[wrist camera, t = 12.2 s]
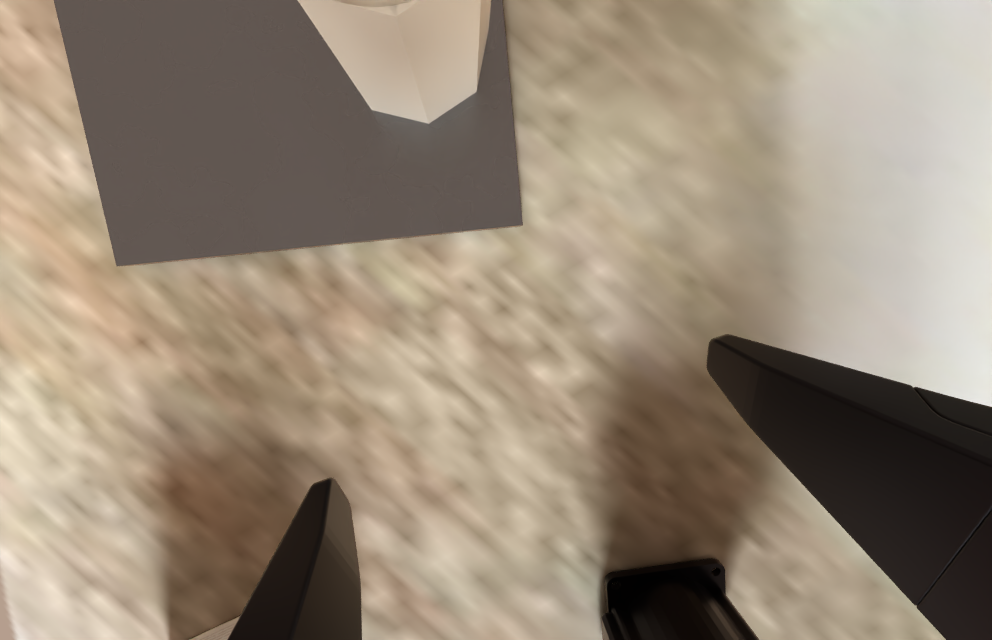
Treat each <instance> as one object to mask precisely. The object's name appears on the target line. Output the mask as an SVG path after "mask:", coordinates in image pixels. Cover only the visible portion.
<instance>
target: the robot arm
mask: <svg viewBox="0 0 992 640" xmlns="http://www.w3.org/2000/svg"><path fill="white" fill-rule="evenodd" d="M707 370H708V372H709V374H710V376H711V377H712V378H713V380H714V381H715V382H716V384H717V385H718V386H719V388H720V389H721V390H722V392H723V393H724V394H725V396H726V397H727V398H728V400H729V401H730V402H731V404H732V405H733V406H734V408H735V409H736V410H737V412H738V413H739V414H740V415H741V417H742V418H743V419H744V421H745V422H746V423H747V424H748V425H749V427H750V428H751V429H752V430H753V431H754V432H755V433H756V435H757V436H758V437H759V438H760V439H761V440H762V441H763V442H764V443H765V444H766V445H767V446H768V447H769V449H770V450H771V451H772V452H773V453H774V454H775V455H776V456H777V457H778V458H779V459H780V460H781V461H782V463H783V464H784V465H785V466H786V467H787V468H788V469H789V470H790V471H791V472H792V473H793V474H794V476H795V477H796V478H797V479H798V480H799V481H800V482H801V483H802V484H803V485H804V486H805V487H806V488H807V490H808V491H809V492H810V493H811V494H812V495H813V496H814V497H815V498H816V499H817V500H818V501H819V502H820V504H821V505H822V506H823V507H824V508H825V509H826V510H827V511H828V512H829V513H830V514H831V515H832V516H833V518H834V519H835V520H836V521H837V522H838V523H839V524H840V525H841V526H842V527H843V528H844V529H845V531H846V532H847V533H848V534H849V535H850V536H851V537H852V538H853V539H854V540H855V541H856V542H857V543H858V545H859V546H860V547H861V548H862V549H863V550H864V551H865V552H866V553H867V554H868V555H869V556H870V557H871V559H872V560H873V561H874V562H875V563H876V564H877V565H878V566H879V567H880V568H881V569H882V570H883V572H884V573H885V574H886V575H887V576H888V577H889V578H890V579H891V580H892V581H893V582H894V583H895V584H896V586H897V587H898V588H899V589H900V590H901V591H902V592H903V593H904V594H905V595H906V596H907V597H908V598H909V600H910V601H911V602H912V603H913V604H914V605H917V609H918V610H919V611H920V612H921V613H922V614H923V615H924V616H925V617H926V618H927V619H928V620H929V622H930V623H931V624H932V625H933V626H934V627H935V628H936V629H937V630H938V631H939V632H940V633H941V634H942V636H943V637H944V638H945V639H946V640H992V407H990V406H986V405H981V404H977V403H973V402H970V401H966V400H962V399H958V398H955V397H951V396H947V395H943V394H940V393H936V392H933V391H929V390H925V389H922V388H918V387H914V388H913V387H912V386H911V385H907V384H904V383H900V382H897V381H893V380H890V379H886V378H883V377H879V376H875V375H872V374H868V373H865V372H861V371H858V370H854V369H851V368H847V367H844V366H840V365H836V364H833V363H829V362H826V361H822V360H819V359H815V358H812V357H808V356H804V355H801V354H797V353H794V352H790V351H787V350H783V349H780V348H776V347H772V346H769V345H765V344H762V343H758V342H755V341H751V340H748V339H744V338H741V337H737V336H733V335H729V334H725V335H721V336H719V337H716V338H713V339H712V340H711V341H710V342H709V347H708V356H707ZM713 568H716V569H715V570H713V571H712V569H713ZM604 582H605V596H606V610H607V613H604V614H603V616H602V617H601V622H602V636H603V640H759V639H758V637H757V636H756V635H755V633H754V632H753V631H752V629H751V628H750V627H749V625H748V624H747V623H746V621H745V620H744V619H743V617H742V616H741V615H740V613H739V612H738V611H737V609H736V608H735V607H734V605H733V604H732V603H731V601H730V600H729V599H728V597H727V596H726V594H725V569H724V567H723V565H722V564H721V563H720V562H719V560H717V559H715V558H711V559H703V560H696V561H689V562H682V563H675V564H667V565H660V566H653V567H646V568H639V569H631V570H624V571H617V572H612V573H609V574H608V575H607V576H606V577H605V581H604ZM613 582H617V583H616V584H612V583H613ZM227 640H362V620H361V583H360V573H359V565H358V557H357V550H356V542H355V535H354V527H353V520H352V513H351V507H350V503H349V501H348V499H347V497H346V496H345V494H344V493H343V491H342V489H341V488H340V486H339V485H338V483H337V482H336V480H335V479H334V478H327V479H324V480H322V481H319V482H316V483H314V484H313V485H312V486H311V487H310V489H309V491H308V493H307V495H306V496H305V498H304V500H303V502H302V504H301V506H300V507H299V509H298V511H297V513H296V515H295V517H294V518H293V520H292V522H291V524H290V526H289V527H288V529H287V531H286V533H285V535H284V537H283V538H282V540H281V542H280V544H279V546H278V548H277V549H276V551H275V553H274V555H273V557H272V559H271V560H270V562H269V564H268V566H267V568H266V570H265V571H264V573H263V575H262V577H261V579H260V581H259V582H258V584H257V586H256V588H255V590H254V592H253V593H252V595H251V597H250V599H249V601H248V603H247V604H246V606H245V608H244V610H243V612H242V614H241V615H240V617H239V619H238V621H237V623H236V625H235V626H234V628H233V630H232V632H231V634H230V635H229V637H228V639H227Z"/></svg>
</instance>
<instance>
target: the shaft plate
mask: <svg viewBox="0 0 992 640" xmlns="http://www.w3.org/2000/svg"><path fill="white" fill-rule="evenodd" d="M54 3H55V7H56V12H57V16H58V20H59V24H60V28H61V33H62V37H63V41H64V45H65V50H66V54H67V58H68V62H69V67H70V71H71V75H72V79H73V83H74V88H75V92H76V96H77V100H78V105H79V109H80V113H81V117H82V122H83V126H84V130H85V134H86V138H87V143H88V147H89V151H90V155H91V160H92V164H93V168H94V172H95V177H96V181H97V185H98V189H99V193H100V198H101V202H102V206H103V210H104V215H105V219H106V223H107V227H108V232H109V236H110V240H111V244H112V248H113V253H114V257H115V261H116V265H117V266H133V265H143V264H153V263H163V262H173V261H183V260H192V259H202V258H212V257H222V256H232V255H242V254H252V253H261V252H271V251H281V250H291V249H301V248H311V247H321V246H330V245H340V244H350V243H360V242H370V241H380V240H390V239H399V238H409V237H419V236H429V235H439V234H449V233H459V232H468V231H478V230H488V229H498V228H508V227H518V226H522V225H523V222H522V211H521V200H520V189H519V178H518V167H517V156H516V145H515V134H514V123H513V112H512V101H511V90H510V79H509V68H508V57H507V46H506V35H505V24H504V13H503V2H502V0H491V7H490V18H489V30H488V35H487V40H486V45H485V50H484V56H483V61H482V66H481V71H480V76H479V81H478V86H477V92H475V93H474V94H472V95H471V96H469V97H468V98H467V99H465V100H464V101H462V102H461V103H459V104H458V105H456V106H455V107H453V108H452V109H450V110H449V111H447V112H446V113H444V114H443V115H441V116H440V117H438V118H437V119H435V120H434V121H432V122H431V123H429V124H428V123H424V122H419V121H415V120H411V119H407V118H403V117H399V116H395V115H390V114H386V113H382V112H378V111H374V110H371V108H370V107H369V105H368V104H367V102H366V101H365V99H364V98H363V96H362V95H361V93H360V92H359V91H358V89H357V88H356V86H355V85H354V83H353V82H352V80H351V79H350V77H349V76H348V74H347V73H346V71H345V70H344V68H343V67H342V65H341V64H340V62H339V61H338V59H337V58H336V56H335V55H334V54H333V52H332V51H331V49H330V48H329V46H328V45H327V43H326V42H325V40H324V39H323V37H322V36H321V34H320V33H319V31H318V30H317V28H316V27H315V25H314V24H313V22H312V21H311V19H310V18H309V16H308V15H307V14H306V12H305V11H304V9H303V8H302V6H301V5H300V3H299V2H298V0H54Z"/></svg>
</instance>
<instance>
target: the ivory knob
mask: <svg viewBox="0 0 992 640" xmlns="http://www.w3.org/2000/svg"><path fill="white" fill-rule="evenodd" d="M298 2H299V3H300V5H301V6H302V8H303V9H304V11H305V12H306V14H307V15H308V16H309V18H310V19H311V21H312V22H313V24H314V25H315V27H316V28H317V30H318V31H319V33H320V34H321V36H322V37H323V39H324V40H325V42H326V43H327V45H328V46H329V48H330V49H331V51H332V52H333V54H334V55H335V56H336V58H337V59H338V61H339V62H340V64H341V65H342V67H343V68H344V70H345V71H346V73H347V74H348V76H349V77H350V79H351V80H352V82H353V83H354V85H355V86H356V88H357V89H358V91H359V92H360V93H361V95H362V96H363V98H364V99H365V101H366V102H367V104H368V105H369V107H370V108H371V110H374V111H378V112H382V113H386V114H390V115H395V116H399V117H403V118H407V119H411V120H415V121H419V122H424V123H428V124H429V123H431V122H432V121H434V120H435V119H437V118H438V117H440V116H441V115H443V114H444V113H446V112H447V111H449V110H450V109H452V108H453V107H455V106H456V105H458V104H459V103H461V102H462V101H464V100H465V99H467V98H468V97H469V96H471V95H472V94H474V93H475V92H477V86H478V81H479V76H480V71H481V66H482V61H483V56H484V50H485V45H486V40H487V35H488V30H489V18H490V7H491V0H298Z"/></svg>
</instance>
